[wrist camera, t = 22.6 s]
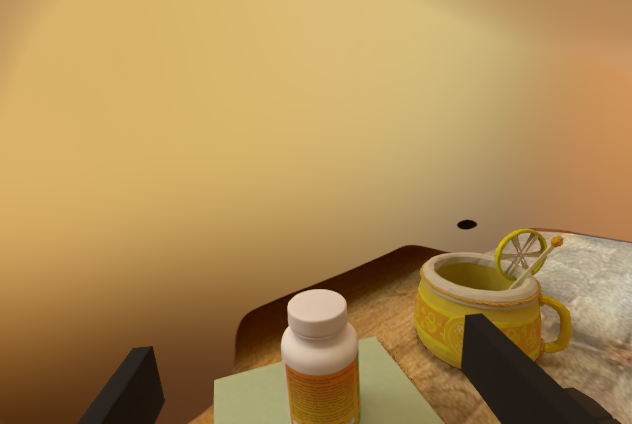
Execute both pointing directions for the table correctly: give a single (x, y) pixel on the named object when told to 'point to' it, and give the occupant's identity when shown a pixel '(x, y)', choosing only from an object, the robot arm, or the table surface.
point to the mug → (487, 299)
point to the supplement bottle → (320, 361)
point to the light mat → (375, 393)
